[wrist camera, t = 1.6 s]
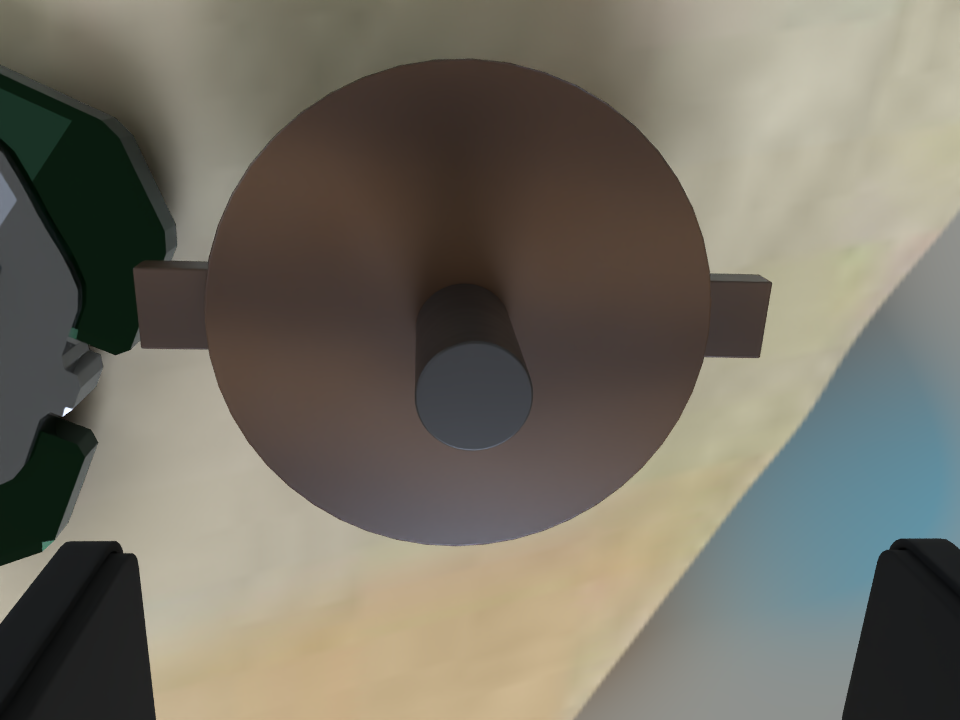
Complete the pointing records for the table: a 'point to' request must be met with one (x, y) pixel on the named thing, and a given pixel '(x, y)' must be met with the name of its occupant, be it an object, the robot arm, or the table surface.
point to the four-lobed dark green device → (62, 291)
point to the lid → (457, 302)
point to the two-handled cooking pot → (181, 325)
